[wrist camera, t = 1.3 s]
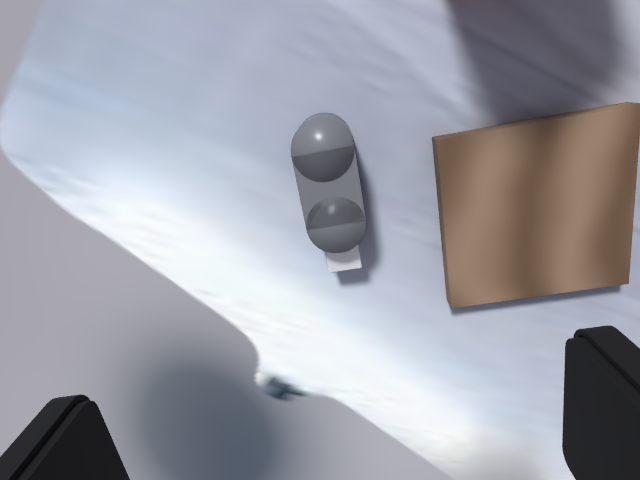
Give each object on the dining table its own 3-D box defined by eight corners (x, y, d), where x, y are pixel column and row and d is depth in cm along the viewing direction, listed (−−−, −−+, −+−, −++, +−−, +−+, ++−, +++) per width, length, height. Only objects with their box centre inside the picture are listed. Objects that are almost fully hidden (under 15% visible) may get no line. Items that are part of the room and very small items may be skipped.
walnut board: (627, 102, 29) (642, 103, 27) (616, 275, 33) (628, 283, 32) (432, 137, 30) (436, 140, 29) (446, 299, 35) (451, 308, 33)
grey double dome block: (347, 107, 30) (349, 112, 26) (370, 252, 33) (374, 274, 30) (291, 118, 30) (284, 124, 26) (319, 260, 34) (317, 283, 30)
